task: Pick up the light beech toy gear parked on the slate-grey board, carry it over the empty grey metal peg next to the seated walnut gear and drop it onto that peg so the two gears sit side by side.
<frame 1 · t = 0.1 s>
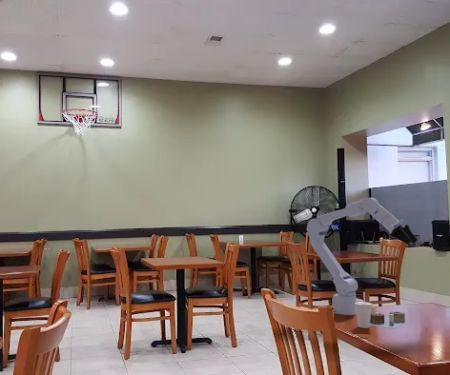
hand: (412, 242, 188), 32 cm above the table, tool tilted 50°, fingers open, 7 cm apart
smoothie: (363, 330, 178), on the table
beech gear: (397, 320, 188), point 1 cm above the table, touching gear board
walnut gear: (377, 322, 185), resting on gear board
gear board: (386, 325, 186), on the table
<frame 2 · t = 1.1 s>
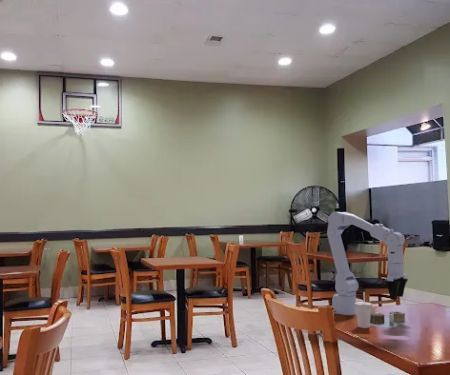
hand: (396, 297, 189), 10 cm above the table, tool pointing down, fingers open, 7 cm apart
nothing on the table moved.
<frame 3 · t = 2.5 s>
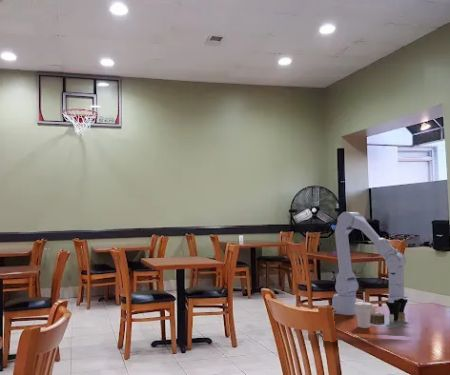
hand: (397, 318, 188), 2 cm above the table, tool pointing down, fingers closed on beech gear, 5 cm apart
beech gear: (397, 320, 188), point 1 cm above the table, touching gear board, gripper
everything else where it was.
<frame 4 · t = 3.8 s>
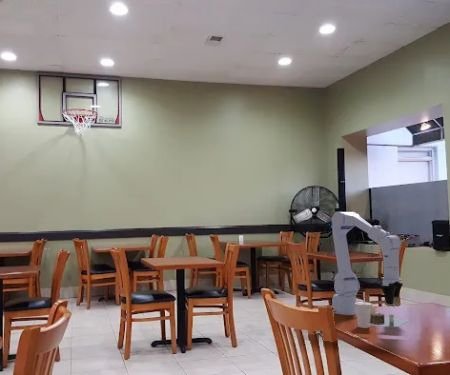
hand: (392, 302, 183), 9 cm above the table, tool pointing down, fingers closed on beech gear, 5 cm apart
beech gear: (392, 305, 183), point 8 cm above the table, touching gripper
everything else where it was.
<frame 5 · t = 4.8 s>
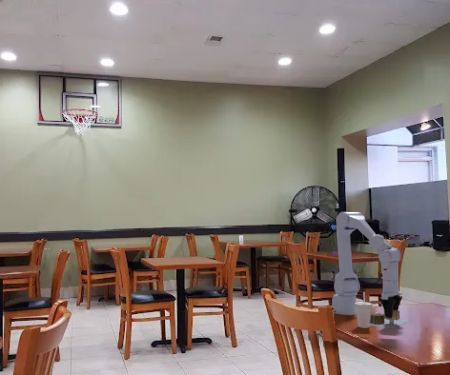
hand: (391, 316, 182), 4 cm above the table, tool pointing down, fingers closed on beech gear, 5 cm apart
beech gear: (391, 318, 182), point 3 cm above the table, touching gripper
everything else where it was.
when the fingers open (4 cm above the table, at t = 5.4 s): beech gear drops 2 cm, resting on gear board.
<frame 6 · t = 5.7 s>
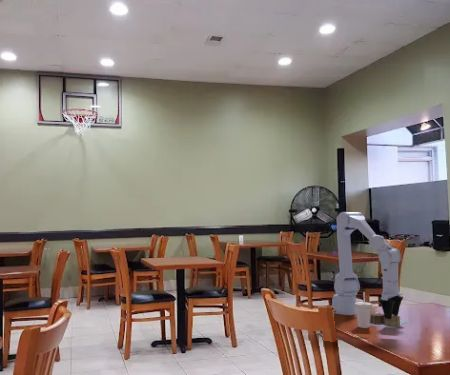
hand: (391, 316, 182), 4 cm above the table, tool pointing down, fingers open, 7 cm apart
beech gear: (392, 324, 182), point 1 cm above the table, touching gear board
everything else where it was.
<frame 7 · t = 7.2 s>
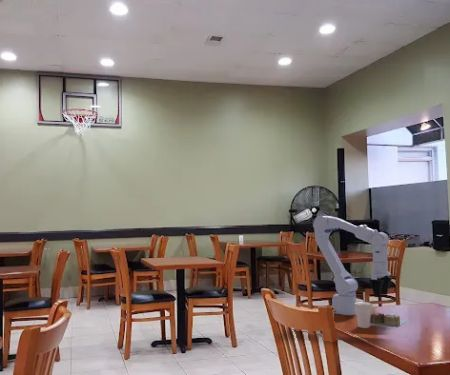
hand: (380, 295, 194), 10 cm above the table, tool pointing down, fingers open, 7 cm apart
nothing on the table moved.
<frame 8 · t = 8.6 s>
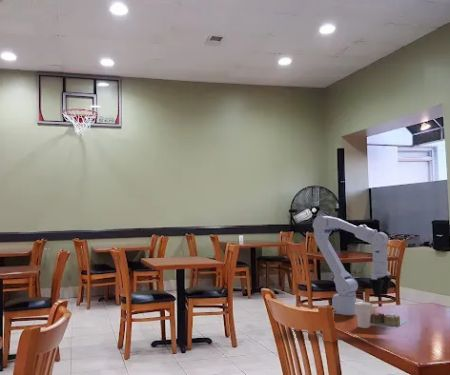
hand: (380, 295, 195), 10 cm above the table, tool pointing down, fingers open, 7 cm apart
nothing on the table moved.
at the end: beech gear 0.1 cm from the target spot on the gear board, point 1.2 cm above the gear board's base; beech gear tilted 0° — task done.
